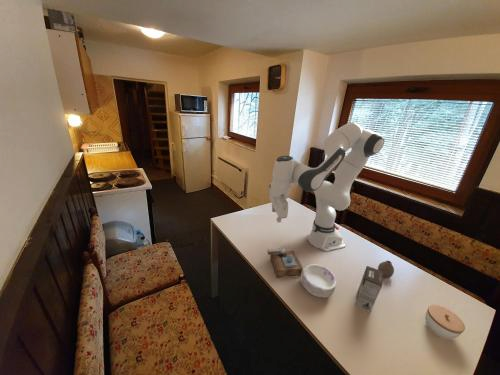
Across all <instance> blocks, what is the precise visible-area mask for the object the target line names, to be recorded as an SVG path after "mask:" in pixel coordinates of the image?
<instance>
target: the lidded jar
mask: <svg viewBox="0 0 500 375" xmlns="http://www.w3.org/2000/svg"><path fill="white" fill-rule="evenodd" d="M424 320H425V322H426V324H427V327H428V329H429V330H430V331H431V332H432V333H433V334H434V335H435V336H438V337H439V338H442V339H447V340H454V339H457V338H459V337H460V336H461V334H462V333H464V332H465V330H466V326H465V323H464V321H463V320H462V319H461V318H460V317H459V316H458V315H457V314H456V312H455V313H454V312H453V311H452V310H450V309H449V308H447V307H445V306H443V305H439V304H429V306H428V307H427V310H426V312H425V319H424Z"/></svg>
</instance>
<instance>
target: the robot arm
mask: <svg viewBox="0 0 500 375" xmlns="http://www.w3.org/2000/svg"><path fill="white" fill-rule="evenodd" d="M384 144H385V138H384V136H383V135H382V134H380V133H378V132H375V131H372V130H370V129H368V128H362V127H361V126H360V125H359V124H358V123H356V122H348V123H345V124H343V125H342V126H341V127H339V128H337V129H335V130H334V131H333V132H331V133H330V134H329V135H327V136H326V138H324V141H323V150H324V153H325V155H326V156H327V157H326V158H325V160H323V161H322V162H321V163H320V164H319V165H318V166H317V167H310V166H309V165H306V164H304V163H302V162H300V161H298V160H295V158H294V157H293V156H290V155H280V156H278V157H277V158H276V159H275V161H274V164H273V169H272V180H271V182H270V183H269V186H268V188H269V197H268V198H269V201H270V202H271V211H272V213H276V215H277V217H276V222H277V223H281V222H282V219H287V218H288V215H289V214H288V213H289V202H288V200H287V198H288V197H289V196H290V190H291V184H295V185H297V187H298V186H299V188H301V189H302V190H303V191H304V192H306V193H312V192H314V193H313V194H314V195H315V202H316V212H315V217H314V220H313V223H312V229H311V232H310V234H309V236H308V238H307V240H308V243H309V244H311V245H312V246H313V247H315V248H317V249H320V250H322V251H324V252H331V251H335V250H339V249H344V248H346V244H345V242H344V240H343V236H342V234H341V233H340V231H338V230H340V227H339V226H338V225H336V223H335V220H336V218H337V212H336V210H337V211H344V210H346V209H348V207H350V204H351V201H352V200H351V195H350V194H351V193H350V192H351V188H352V185H353V183H354V181H355V180H356V179H357V177H358V176H359V174H360V173H361V172H362V170H363V169H364V168H365V166H366V164H367V163H368V161H369V158H370V157H372V156H374V155H376V154H378V153H379V152H380V151H381V150H382V149H383V147H384ZM350 149H351V150H350ZM349 150H350V151H349ZM347 151H349V152H348V153H347V154H346V152H347ZM333 172H334V178H335V179H334V181H333V183H332V182H330V181H328V180H326V179H327V178H328V177H329V176H330V175H331V174H332V173H333Z"/></svg>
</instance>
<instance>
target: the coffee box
mask: <svg viewBox="0 0 500 375" xmlns="http://www.w3.org/2000/svg"><path fill="white" fill-rule="evenodd" d="M383 280H384V277H383V272H382V271H380V270H378V268H375V267H371V266H368V265H366V268H365V270H364V272H363V275H362V278H361V281H360V284H359V286H358V289H357V291H356V292H357V294H356V299H355V306H357V307H360V308H361V309H363V310H366V311H367V312H369V313H371V312H372V310H373V307H374V305H375V303H376V300H377V298H378V296H379V294H380V292H381V290H382V287H383Z"/></svg>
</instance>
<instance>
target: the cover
mask: <svg viewBox="0 0 500 375" xmlns="http://www.w3.org/2000/svg"><path fill="white" fill-rule="evenodd" d="M282 261H283V263H284V266H285V267H297V264H296V262H295V260H294V258H293V256H292V255H291V254H288V257H282Z"/></svg>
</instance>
